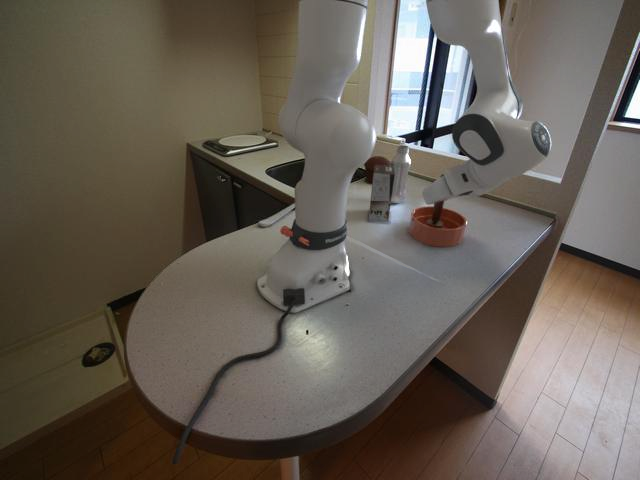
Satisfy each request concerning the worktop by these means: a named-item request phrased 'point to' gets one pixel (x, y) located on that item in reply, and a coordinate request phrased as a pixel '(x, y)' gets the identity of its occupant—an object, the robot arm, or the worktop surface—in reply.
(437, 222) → the stirring stick
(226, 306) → the worktop surface
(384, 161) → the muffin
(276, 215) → the spoon
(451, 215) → the bowl
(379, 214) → the coffee box
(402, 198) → the plastic bottle
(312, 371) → the worktop surface
